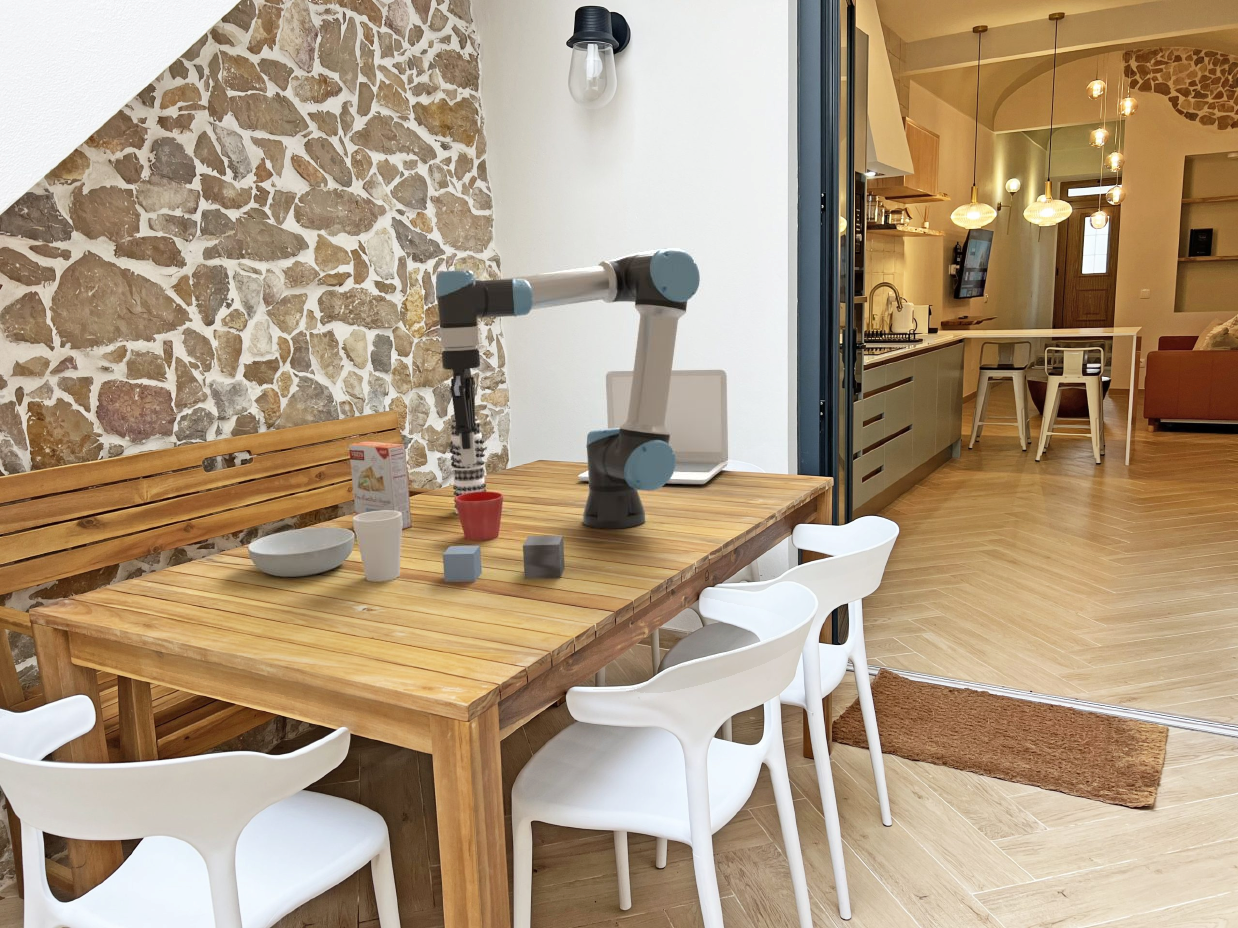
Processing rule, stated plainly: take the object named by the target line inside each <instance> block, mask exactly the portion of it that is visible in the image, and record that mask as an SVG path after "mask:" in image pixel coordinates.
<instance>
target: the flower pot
mask: <svg viewBox="0 0 1238 928" xmlns="http://www.w3.org/2000/svg"><path fill="white" fill-rule="evenodd" d="M455 497H456V496H455ZM455 497H454V498H455ZM455 501H456V503H455V504H456V506H457V510H458V514H457V515H458V517H459V521H460V524H461V528H462V533H463V535H464V538H465V539H466V540H468V541H473V542H474V541H475V542H477V541H478V542H479V541H480V542H481V540H483V541H487V540H489V539H490V540H494V539H496V538H498V536H499V534H500V530H501V529H500V527H501V521H502V520H501V519H502V512H503V503H504V502H503V501H504V495H503V493H500V492H496V491H486V492H472V493H466V494H462V495H459V496H457V497H456V498H455Z"/></svg>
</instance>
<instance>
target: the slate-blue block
mask: <svg viewBox="0 0 1238 928" xmlns="http://www.w3.org/2000/svg"><path fill="white" fill-rule="evenodd" d="M442 565H443V574H444V575H443V579H444V582H445V583H453V582H455V583H458V582H461V583H464V582H466V583H467V582H476V581H477V580H478V579H479V577H480V576H481V575H482V573H483V570H482V555H481V545H450V546H448V548H447V549H446V550H445V551H444V552H443V553H442Z"/></svg>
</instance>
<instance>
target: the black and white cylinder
mask: <svg viewBox="0 0 1238 928" xmlns="http://www.w3.org/2000/svg"><path fill="white" fill-rule="evenodd" d="M475 423H476V426H475V427H474V428H478V430H477V431H472V432H474V440H475V454H476V464H466V465H462V461H461V448H460V436H459V433H457V434H456V433H455V431H456V422H455V416H454V417H453V419H452V421H451V422H449V425H450V431H451V434H450V440H451V441H450V442H449V443H448V445H449V453H450V454H451V456H450V460H451V464H450V466H451V469H452V470H453V471H454V472H453V475H454V479H453V486H452V489H453V490H454V492H453V495H454V496H455V497H454V499H453V502H454V506H453V507H454V509H455V511H454V513H456V514H457V515H459V514H458V510H457V506H456V501H455V498H456V497H457V496H459V495H462V494H466V493H472V492H487V489H486V487H487V483H485V476H484V475H485V474H484V467H485V464H486V463H485V461H483V458H485V456H486V455H485V453H483V452H484V451H485V450H486V449H485V447H483V446H482V445H483V444H485V440H484V439H483V438H484V436H482V432H481V423H482V421H481V420H479V419H478V417H477V416H476V415H475Z"/></svg>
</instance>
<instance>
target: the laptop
mask: <svg viewBox="0 0 1238 928" xmlns="http://www.w3.org/2000/svg"><path fill="white" fill-rule="evenodd" d="M633 371H634V370H619V371H618V370H616V371H615V370H612V371H608V372H607V373H606V375H605V387H606V389H605V390H606V391H605V392H606V414H607V415H606V416H607V429H611V428H620V426H621V425H623V424H624V423H625V422H626V421H627V419H628V411H629V403H630V395H631V387H632V379H633ZM727 377H728V376H727V372H726V371H725V370H723V369H689V370H687V369H684V370H683V369H681V370H679V369H678V370H674V369H672V371H671V379H670V387H669V395H668V403H667V410H666V418H665V427H666V428H667V429H668V431H669V432H670V439H669V446H670V447H671V448H672V450H673V452H674V453H675V457H676V466H675V470H674V473H673V475H672V477H671V478H670V480H669V481H668V482H667V483H666V484H673V485H674V484H675V485H676V484H680V485H681V484H682V485H704V484H706V483H707V482H709V481H710V480H712V478H713V477H715V476H716V475H717V474H719V473H720V472H721V471H723V470H724V469H725V468H726V467H727V466H728V461H729V446H728V445H729V439H728V435H729V434H728V432H729V431H728V428H729V427H728V426H729V425H728V388H727V387H728V386H727V385H728V383H727V381H728V379H727ZM577 477H578V479H579V480H580V481H581V482H589V477H588V470H586V471H585V472H581V473H580V474H579V475H577Z"/></svg>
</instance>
